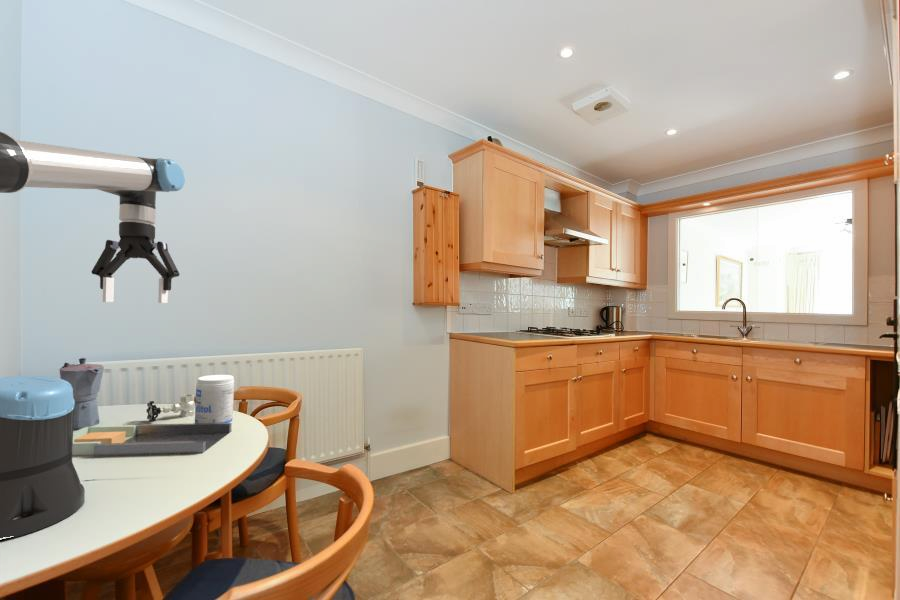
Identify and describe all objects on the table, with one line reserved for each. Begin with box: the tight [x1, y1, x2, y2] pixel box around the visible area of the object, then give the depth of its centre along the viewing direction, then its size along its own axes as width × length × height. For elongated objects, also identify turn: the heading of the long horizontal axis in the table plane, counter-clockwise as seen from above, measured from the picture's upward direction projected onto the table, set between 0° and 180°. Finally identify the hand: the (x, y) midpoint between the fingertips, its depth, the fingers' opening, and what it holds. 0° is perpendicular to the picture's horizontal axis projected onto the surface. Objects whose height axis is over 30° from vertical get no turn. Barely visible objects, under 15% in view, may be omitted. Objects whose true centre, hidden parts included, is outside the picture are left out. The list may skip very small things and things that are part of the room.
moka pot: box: [59, 357, 105, 432], centre depth 111 cm, size 10×15×20 cm, turn 79°
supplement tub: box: [194, 374, 235, 424], centre depth 112 cm, size 10×10×15 cm
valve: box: [145, 393, 196, 423], centre depth 119 cm, size 7×7×12 cm
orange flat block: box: [93, 431, 126, 444], centre depth 96 cm, size 5×4×2 cm
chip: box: [74, 432, 107, 442], centre depth 96 cm, size 5×4×2 cm
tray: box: [72, 424, 137, 456], centre depth 96 cm, size 13×12×3 cm
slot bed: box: [92, 422, 233, 458], centre depth 98 cm, size 16×24×3 cm, turn 97°
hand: (135, 302), depth 102 cm, fingers open, 13 cm apart
